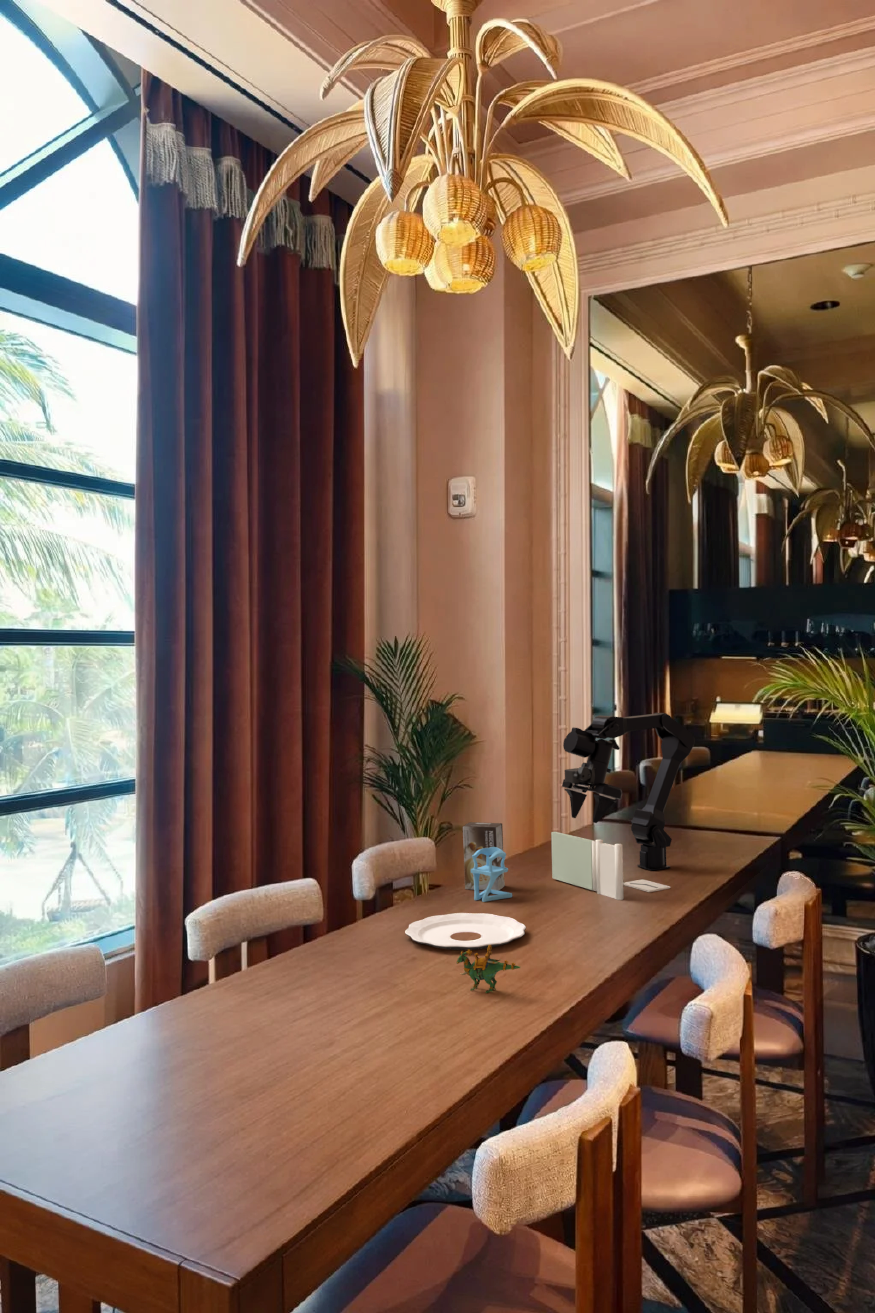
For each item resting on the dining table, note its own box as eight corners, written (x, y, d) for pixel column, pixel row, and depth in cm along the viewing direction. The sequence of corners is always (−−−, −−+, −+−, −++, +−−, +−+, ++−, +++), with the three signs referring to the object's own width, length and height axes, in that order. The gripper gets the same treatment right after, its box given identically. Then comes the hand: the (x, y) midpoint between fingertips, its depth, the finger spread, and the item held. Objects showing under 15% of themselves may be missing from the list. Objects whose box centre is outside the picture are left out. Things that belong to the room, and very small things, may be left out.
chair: (466, 899, 239) (465, 849, 239) (488, 892, 245) (487, 844, 245) (491, 903, 234) (490, 853, 234) (513, 897, 240) (511, 847, 240)
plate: (390, 929, 215) (390, 921, 215) (496, 916, 223) (495, 908, 223) (430, 962, 191) (430, 952, 191) (546, 946, 200) (546, 936, 200)
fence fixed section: (625, 899, 235) (623, 844, 235) (619, 900, 234) (618, 845, 234) (601, 892, 243) (599, 839, 242) (595, 893, 242) (594, 840, 242)
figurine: (460, 984, 177) (459, 938, 177) (524, 992, 172) (523, 945, 172) (453, 990, 174) (452, 943, 174) (518, 997, 170) (517, 950, 169)
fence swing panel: (598, 890, 243) (597, 841, 243) (594, 891, 242) (593, 842, 242) (556, 877, 257) (554, 831, 257) (552, 878, 257) (551, 832, 257)
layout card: (670, 888, 245) (670, 886, 245) (649, 892, 241) (649, 890, 241) (642, 880, 253) (642, 878, 253) (621, 884, 250) (621, 882, 250)
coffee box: (505, 885, 252) (504, 822, 252) (498, 891, 246) (497, 827, 246) (471, 883, 255) (469, 821, 255) (463, 889, 249) (462, 825, 249)
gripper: (553, 751, 264) (539, 808, 262) (595, 757, 248) (581, 818, 246) (585, 762, 269) (572, 818, 267) (629, 768, 253) (615, 828, 251)
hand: (583, 820), depth 257 cm, fingers open, 9 cm apart
